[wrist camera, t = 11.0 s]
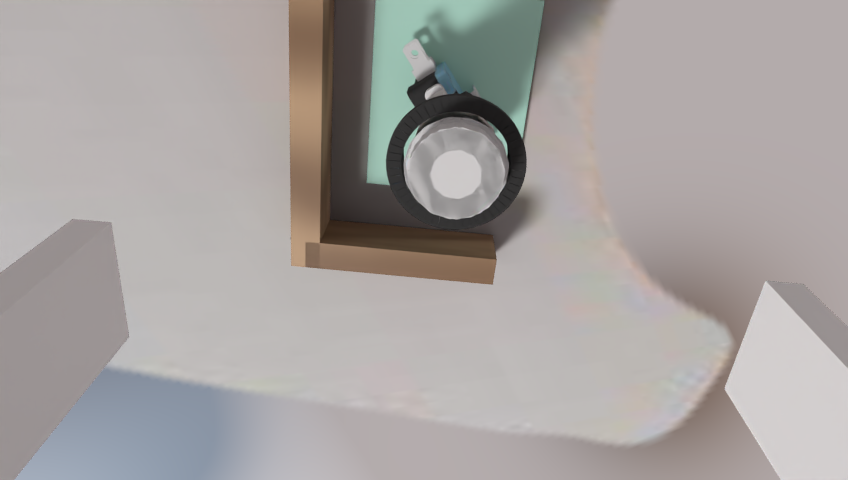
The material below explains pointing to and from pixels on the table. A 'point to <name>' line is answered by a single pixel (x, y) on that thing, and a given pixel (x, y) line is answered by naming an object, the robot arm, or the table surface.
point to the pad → (450, 59)
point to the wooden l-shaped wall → (311, 181)
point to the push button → (453, 151)
